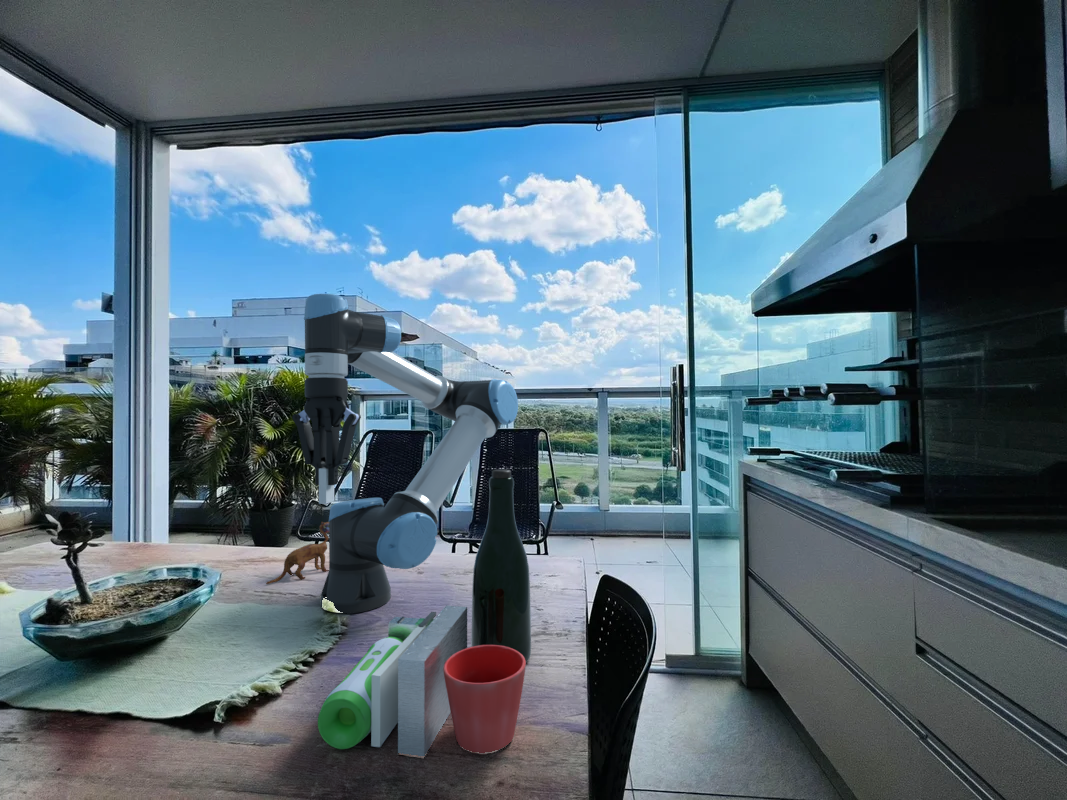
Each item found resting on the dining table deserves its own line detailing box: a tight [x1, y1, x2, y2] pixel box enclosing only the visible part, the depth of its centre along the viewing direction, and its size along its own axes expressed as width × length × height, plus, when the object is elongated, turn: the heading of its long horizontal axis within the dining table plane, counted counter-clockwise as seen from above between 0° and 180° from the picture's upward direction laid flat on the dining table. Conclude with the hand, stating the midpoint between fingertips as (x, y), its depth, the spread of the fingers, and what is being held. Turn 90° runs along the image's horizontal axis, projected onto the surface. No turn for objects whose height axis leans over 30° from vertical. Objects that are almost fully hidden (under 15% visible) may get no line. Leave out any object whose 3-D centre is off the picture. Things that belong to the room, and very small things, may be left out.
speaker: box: [317, 636, 403, 750], centre depth 71 cm, size 18×7×8 cm, turn 175°
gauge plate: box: [370, 611, 437, 748], centre depth 73 cm, size 1×20×9 cm, turn 170°
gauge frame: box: [387, 605, 468, 756], centre depth 73 cm, size 14×20×12 cm
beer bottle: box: [470, 468, 532, 664], centre depth 87 cm, size 10×10×33 cm
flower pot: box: [443, 645, 527, 753], centre depth 66 cm, size 11×11×10 cm
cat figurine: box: [265, 521, 329, 585], centre depth 130 cm, size 18×7×14 cm, turn 143°
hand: (326, 502), depth 93 cm, fingers closed
